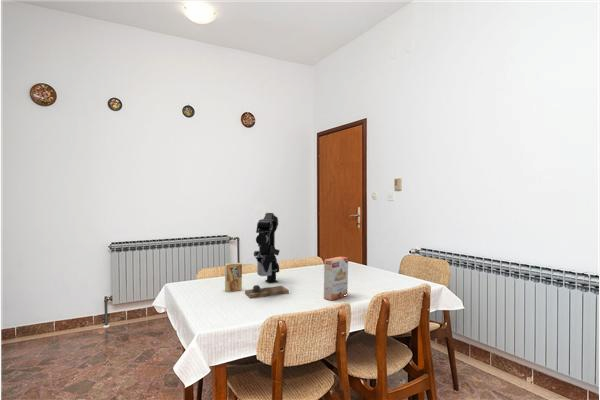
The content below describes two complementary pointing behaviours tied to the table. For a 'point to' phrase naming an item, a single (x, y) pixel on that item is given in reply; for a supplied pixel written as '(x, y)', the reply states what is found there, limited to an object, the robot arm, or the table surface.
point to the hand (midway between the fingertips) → (264, 271)
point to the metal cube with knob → (261, 269)
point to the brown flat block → (266, 291)
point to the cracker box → (335, 277)
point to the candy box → (233, 277)
